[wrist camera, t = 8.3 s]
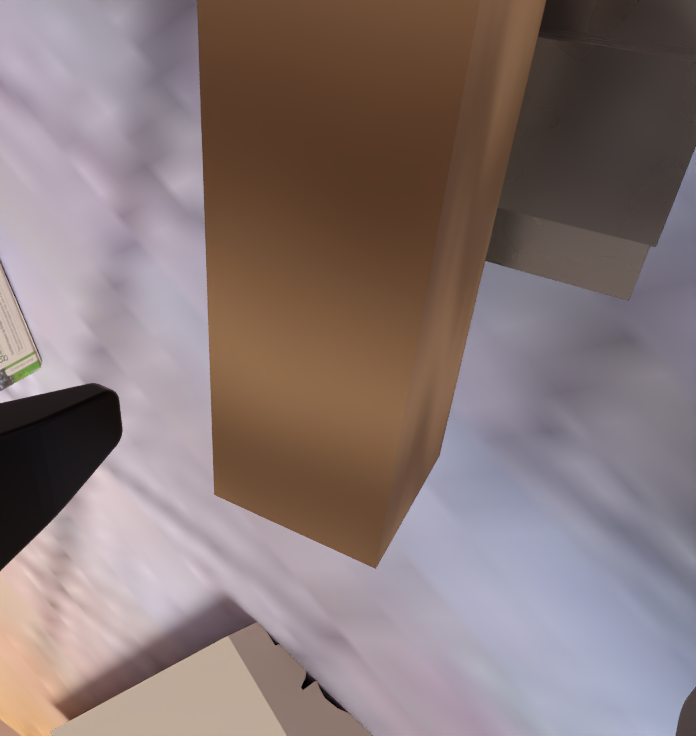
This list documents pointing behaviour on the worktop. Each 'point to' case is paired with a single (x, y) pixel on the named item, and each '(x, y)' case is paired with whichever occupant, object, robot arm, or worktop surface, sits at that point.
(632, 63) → the ridge block
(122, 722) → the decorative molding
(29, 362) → the syrup box
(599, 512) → the worktop surface
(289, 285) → the walnut bar
